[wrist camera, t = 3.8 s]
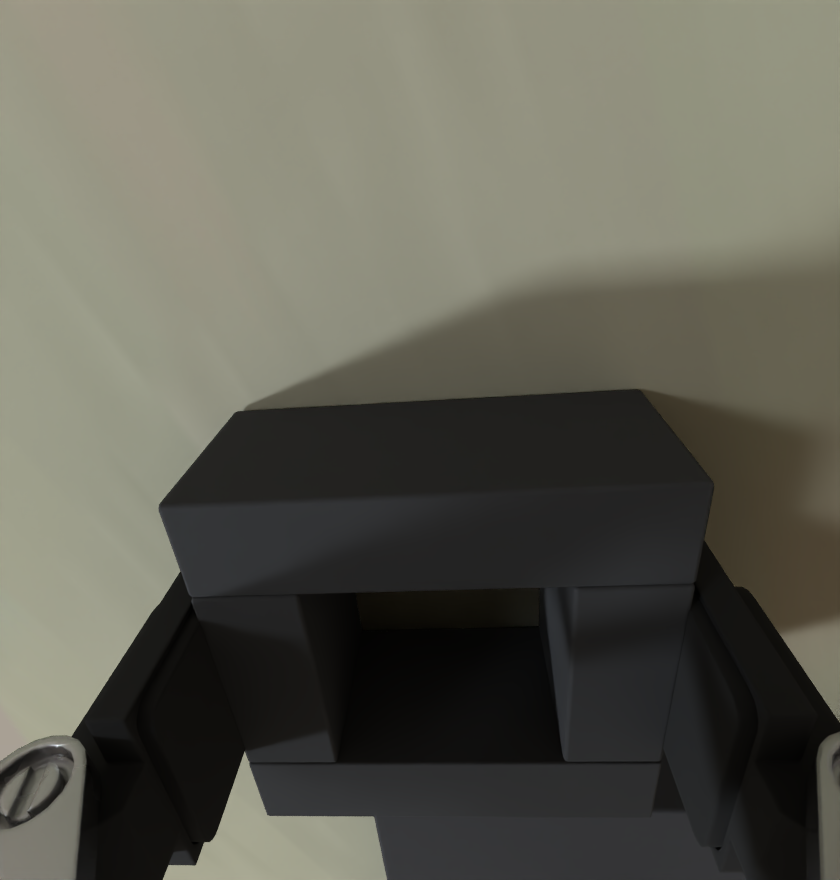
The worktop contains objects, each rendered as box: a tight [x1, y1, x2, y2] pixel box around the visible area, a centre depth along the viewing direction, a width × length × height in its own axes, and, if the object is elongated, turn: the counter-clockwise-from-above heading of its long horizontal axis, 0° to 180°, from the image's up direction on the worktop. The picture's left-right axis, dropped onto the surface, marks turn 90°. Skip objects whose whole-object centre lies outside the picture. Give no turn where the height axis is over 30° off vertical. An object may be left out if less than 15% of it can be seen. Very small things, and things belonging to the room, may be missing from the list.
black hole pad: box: [159, 390, 714, 818], centre depth 10 cm, size 7×7×3 cm
